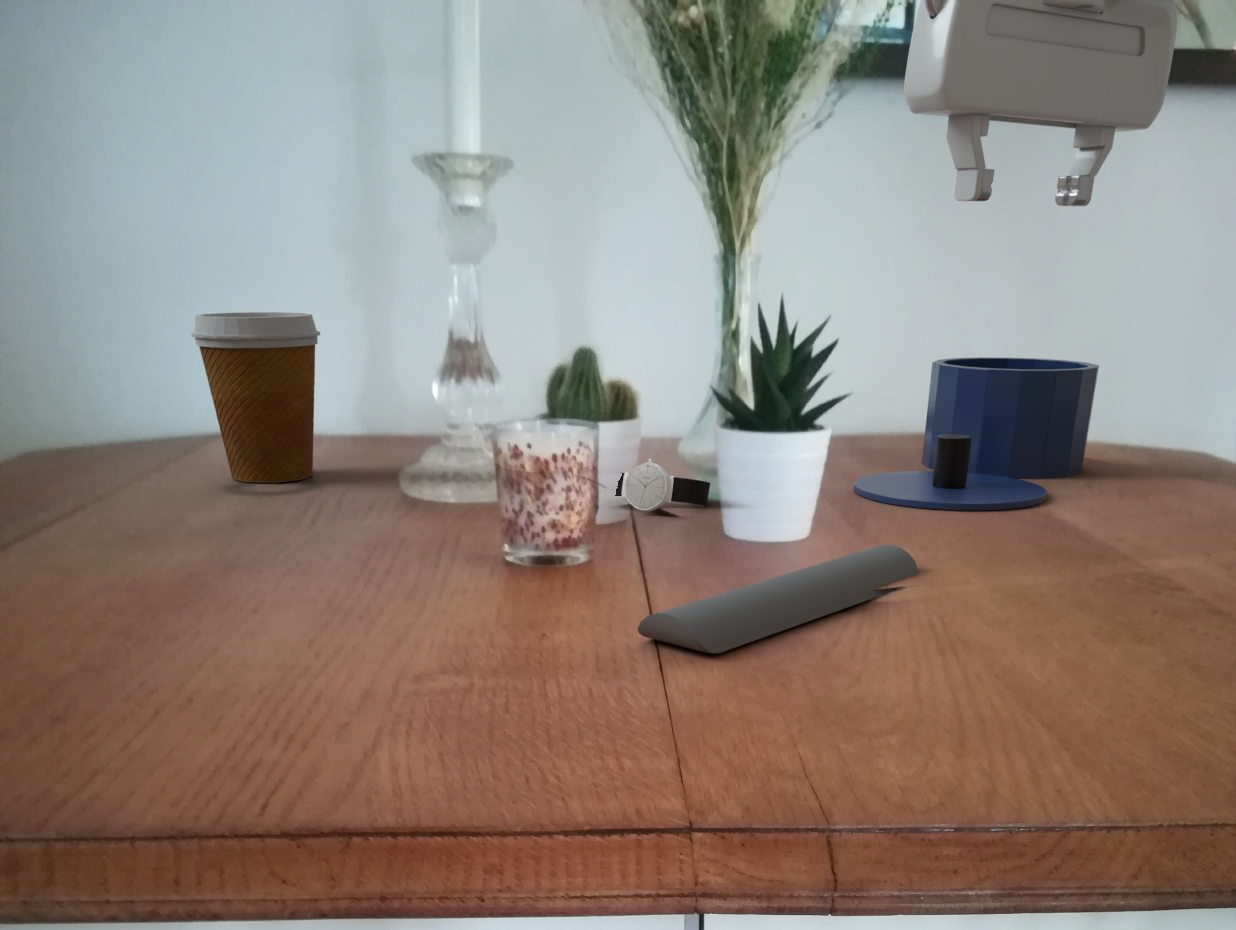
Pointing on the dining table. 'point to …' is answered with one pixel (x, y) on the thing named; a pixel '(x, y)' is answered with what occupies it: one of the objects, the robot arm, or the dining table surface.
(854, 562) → the half round rod
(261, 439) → the disposable coffee cup
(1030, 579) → the dining table surface
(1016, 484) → the lid
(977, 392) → the pot
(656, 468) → the watch
